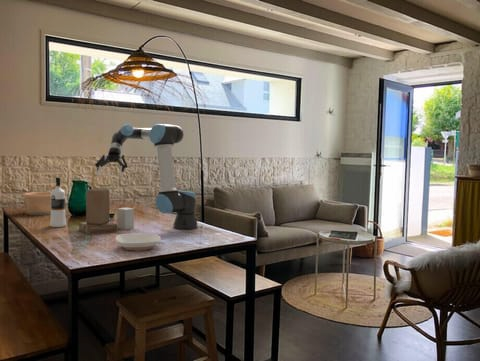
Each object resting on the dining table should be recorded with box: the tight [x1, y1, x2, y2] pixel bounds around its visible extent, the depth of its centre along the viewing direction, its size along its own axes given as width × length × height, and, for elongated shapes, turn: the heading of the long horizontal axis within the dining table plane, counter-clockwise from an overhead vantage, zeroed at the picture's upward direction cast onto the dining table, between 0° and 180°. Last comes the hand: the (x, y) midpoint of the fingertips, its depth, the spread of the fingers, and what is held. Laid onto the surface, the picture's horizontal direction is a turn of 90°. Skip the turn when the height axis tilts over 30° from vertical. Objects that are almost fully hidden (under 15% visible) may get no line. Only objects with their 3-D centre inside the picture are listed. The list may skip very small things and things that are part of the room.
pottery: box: [22, 191, 51, 216], centre depth 298 cm, size 22×22×14 cm
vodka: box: [49, 177, 67, 228], centre depth 253 cm, size 9×9×30 cm
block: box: [85, 188, 110, 225], centre depth 244 cm, size 10×10×20 cm
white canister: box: [116, 207, 135, 230], centre depth 255 cm, size 7×7×12 cm
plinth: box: [78, 220, 118, 236], centre depth 245 cm, size 16×16×5 cm
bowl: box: [115, 232, 162, 251], centre depth 207 cm, size 22×22×5 cm
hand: (109, 174), depth 263 cm, fingers open, 13 cm apart
